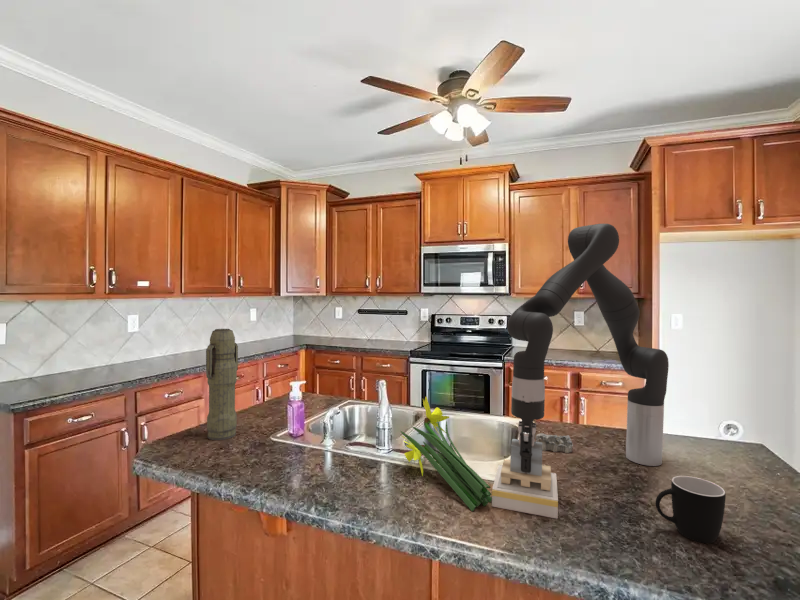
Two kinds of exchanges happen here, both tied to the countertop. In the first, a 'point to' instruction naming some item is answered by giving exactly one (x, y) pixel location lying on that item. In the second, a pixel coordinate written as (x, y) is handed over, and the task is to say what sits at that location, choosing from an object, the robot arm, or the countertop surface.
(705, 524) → the mug
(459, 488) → the daffodil flowers
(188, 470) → the countertop surface
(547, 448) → the egg carton
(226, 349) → the thermos
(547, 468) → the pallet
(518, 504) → the dock
